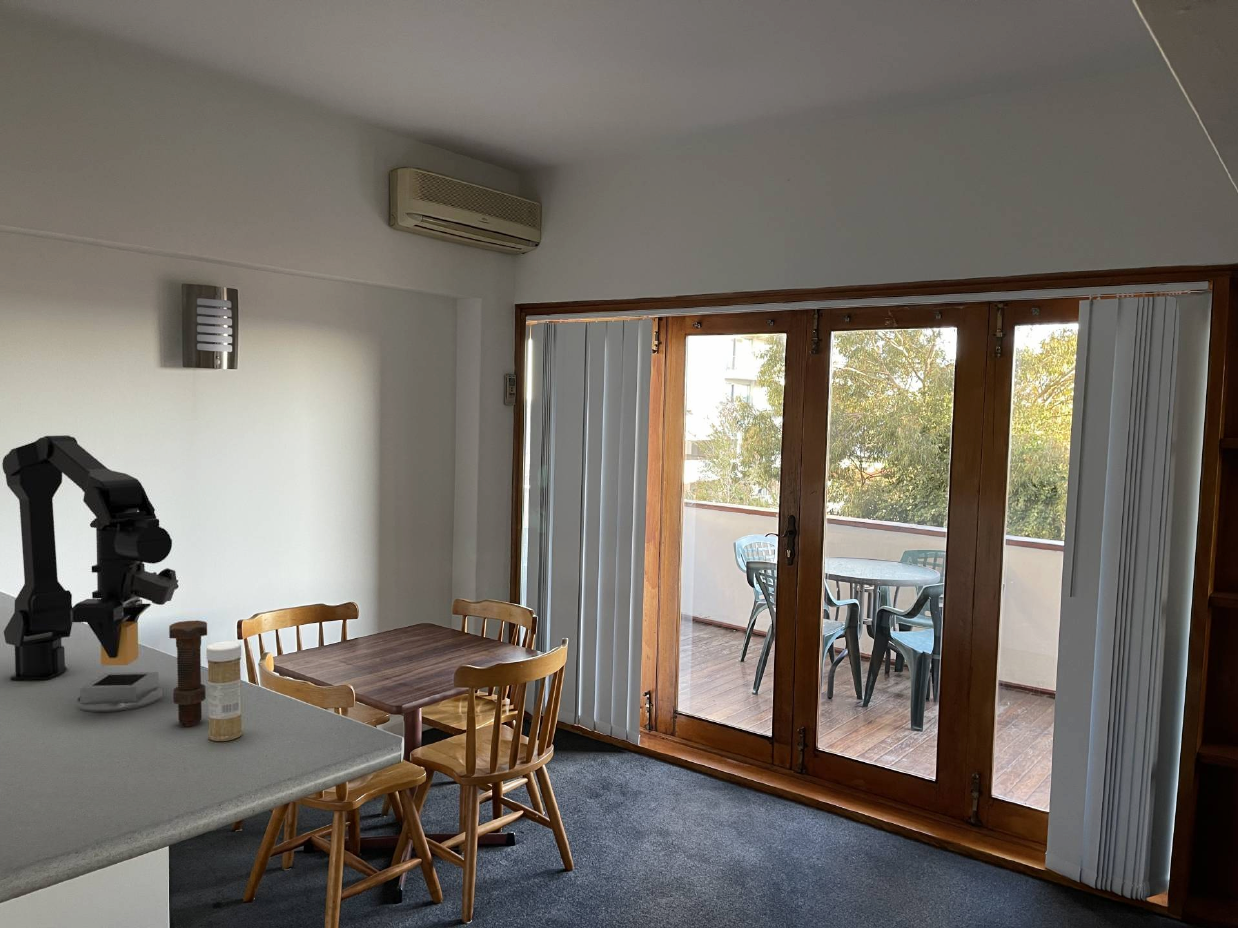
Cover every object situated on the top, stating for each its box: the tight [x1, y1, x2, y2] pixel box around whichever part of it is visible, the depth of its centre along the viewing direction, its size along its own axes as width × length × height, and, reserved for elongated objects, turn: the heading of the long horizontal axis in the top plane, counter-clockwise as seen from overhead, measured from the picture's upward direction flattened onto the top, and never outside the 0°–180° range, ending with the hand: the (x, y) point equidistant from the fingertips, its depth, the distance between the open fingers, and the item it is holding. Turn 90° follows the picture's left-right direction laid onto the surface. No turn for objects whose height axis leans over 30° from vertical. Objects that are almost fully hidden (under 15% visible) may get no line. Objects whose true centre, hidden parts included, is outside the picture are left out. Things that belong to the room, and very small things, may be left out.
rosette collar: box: [76, 671, 163, 713], centre depth 148 cm, size 12×12×3 cm
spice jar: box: [206, 640, 243, 742], centre depth 132 cm, size 5×5×14 cm
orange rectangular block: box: [100, 621, 139, 666], centre depth 148 cm, size 4×4×6 cm
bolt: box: [168, 620, 208, 728], centre depth 137 cm, size 6×5×15 cm
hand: (119, 653), depth 148 cm, fingers closed on orange rectangular block, 4 cm apart
